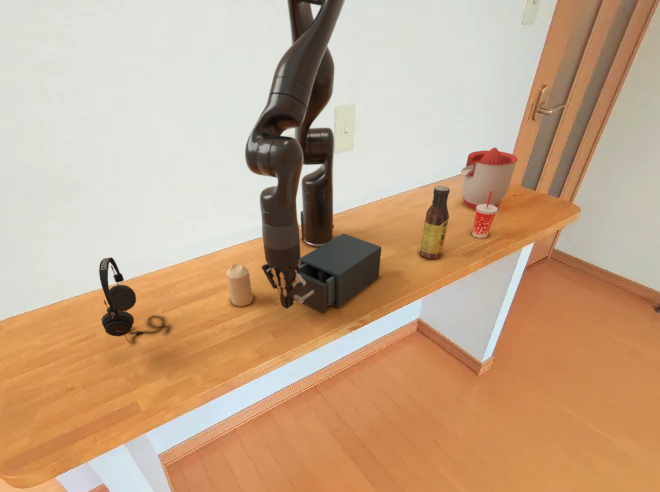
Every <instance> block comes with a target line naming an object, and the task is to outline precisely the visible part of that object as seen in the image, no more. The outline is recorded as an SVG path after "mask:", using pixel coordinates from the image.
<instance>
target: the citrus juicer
mask: <svg viewBox="0 0 660 492" xmlns="http://www.w3.org/2000/svg"><path fill="white" fill-rule="evenodd" d="M518 161H519V160H518V157H517V156H516V155H514V154H512V153H509V152H505V151H499V149H498V148H497V147H492V148H491V149H489V150H477V151H473V152H470V153H469V154H468V155H467V160H466V165H465V166H464V167H462V169H461V170H460V175H462V176H464V177H463V182H462V183H463V184H462V200H463V204H464V206H466V207H468V208H470V209H473V210H474V211H476V206H477V205H479V204H487V203H488V199H489V195H490V191H492V194H491V198H490V201H489V204H490V205H493V206H496V207H497V208H498V206H500V205H501V203H502V201H503V199H504V198H505V197H506V194H507V193H508V190H509V187H510V184H511V182H512V177H513V174H514V171H515V167H516V164H517V162H518Z"/></svg>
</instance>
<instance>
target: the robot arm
mask: <svg viewBox="0 0 660 492" xmlns="http://www.w3.org/2000/svg"><path fill="white" fill-rule="evenodd" d="M345 1H346V0H286V2H287V9H288V17H289V18H288V20H289V27H290V37H291V46H290V47H289V48H288V49H287V50H286V51H285V52H284V53H283V55H282V56H281V58H280V60H279V61H278V63H277V65H276V67H275V69H274V74H273V77H272V80H271V84H270V89H269V93H268V96H267V100H266V105H265V107H264V108H263V109H262V111H261V113H260V115H259V116H258V119H257V121H256V123H255V124H254V127H253V128H252V129H251V132H250V133H249V136H248V138H247V140H246V143H245V149H244V158H245V159H244V160H245V164H246V166H247V168H248V170H249V171H250V172H252V173H253V174H255V175H259V176H263V177H268V178H269V177H270V178H274V179H275V178H276V180H277V185H272V186H268V187H266V188H264V189H263V190H261V192H260V195H259V205H260V215H261V235H262V242H263V249H264V250H263V251H264V259H265V262H266V263H264V264H263V265H262V266H261V269H262V271H263V273H264V274H265V276H266V279H267V280H268V282H269V283H270V285H271V287H272V288H273V289H274V290H277V293H278V294H279V299H280V304H281V306H282V308H285V309H286V310H288V309H289V308H291V307H293V305H294V300H293V296H294V295H296V294H298V293H299V292H300V291H301V290H302V289H303V288H304V287H305V286H306V285H307V284H308V283H309V281H308V279H306V278H305V279H303V278H302V277H301V275H300V269H299V266H300V265H299V264H300V258H301V242H300V240H303V242H304V244H305V245H307V246H309V247H312V248H313V247H314V248H318V247H320V246H322V245H324V244H325V243H327V242H329V241H330V240H332V239H334V229H335V225H334V160H335V159H334V157H335V136H334V135H335V134H334V132H333V130H332V128H330V127H311V126H312V124H313V123H314V122H315V121H316V119H317V118H318V117H319V116H320V114H321V113H322V112H323V111H324V110H325V109H326V107H327V105H328V104H329V102H330V101H331V98H332V96H333V93H334V83H335V82H334V81H335V62H334V58H333V55H332V53H331V50H330V49H329V47H328V46H329V43H330V41H331V38H332V36H333V34H334V31H335V28H336V26H337V22H338V20H339V18H340V15H341V13H342V10H343V7H344V4H345ZM312 5H315V6H320V8H319V10H318V12H317V13H316V16H315V17H314V15H313V10H312ZM292 129H294V137H291V136H287V135H286V136H285V135H282V134H283V133H284V132H286V131H287V130H292ZM310 165H311V166H313V165H314V166H315V165H320V166H319V167H318V168H316V170H314V171H312V172H309V173H307V174H305V175H304V176H303V177H302V178H301V175H302V171H303V166H310ZM300 179H301V200H302V210H301V211H300V227H301V228H300V227H299V221H298V211H297V196H298V190H299V185H300ZM300 229H301V239H300ZM294 285H295V286H294Z"/></svg>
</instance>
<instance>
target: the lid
mask: <svg viewBox="0 0 660 492" xmlns="http://www.w3.org/2000/svg"><path fill="white" fill-rule="evenodd" d="M318 272H319V281H321V282H323V283H325V284H326V280H327V279H329V274H328V273H326V272H324V271H322V270H319V271H318Z"/></svg>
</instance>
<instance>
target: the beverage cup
mask: <svg viewBox="0 0 660 492" xmlns="http://www.w3.org/2000/svg"><path fill="white" fill-rule="evenodd" d="M491 194H492V191H490V195H489V199H488V203H487V204H479V205H477V206H476V210H475V215H474V221H473V226H472V227H473V228H472V233H471V234H472V236H473V237H475V238H479V239H485V238H487V237H488V236H489V233H490V230H491V227H492V225H493V221H494V219H495V216H496V213H498V210H499V208H498V207H496V206H493V205H490V204H489V201H490V198H491Z"/></svg>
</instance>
